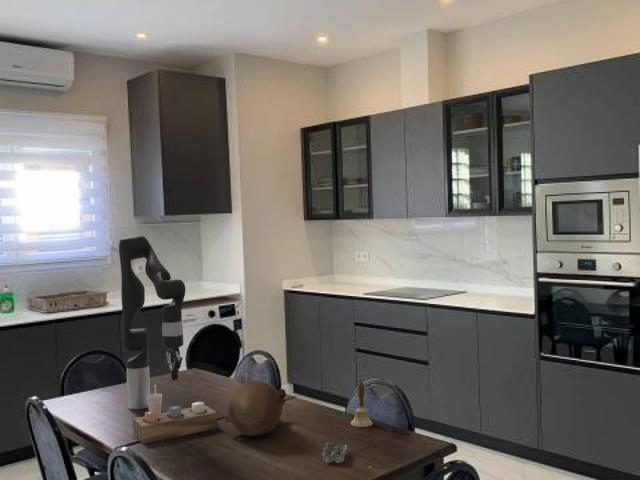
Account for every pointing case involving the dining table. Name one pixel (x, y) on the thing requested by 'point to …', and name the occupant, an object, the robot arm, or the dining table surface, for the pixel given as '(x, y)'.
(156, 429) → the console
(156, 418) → the brown egg
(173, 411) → the grey rounded cylinder
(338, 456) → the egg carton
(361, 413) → the hand bell
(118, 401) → the dining table surface
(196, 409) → the white egg
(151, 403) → the smoothie
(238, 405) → the jug
